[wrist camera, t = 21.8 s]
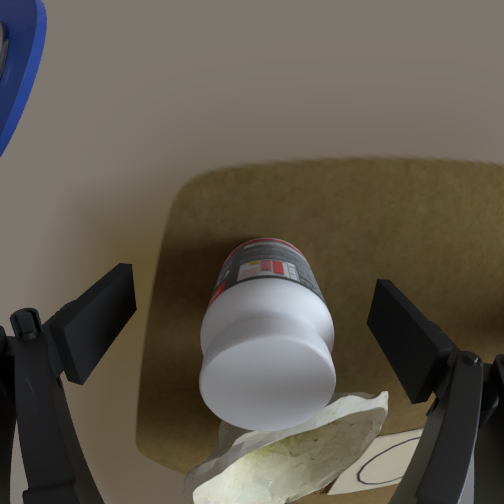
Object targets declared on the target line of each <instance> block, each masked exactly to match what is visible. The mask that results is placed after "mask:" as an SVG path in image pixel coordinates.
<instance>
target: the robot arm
mask: <svg viewBox="0 0 504 504" xmlns="http://www.w3.org/2000/svg"><path fill="white" fill-rule="evenodd" d="M8 49H9V29H8V26H7V24H6V23H5V22H3V21H1V20H0V81H1V78H2V74H3V71H4V67H5V64H6V59H7V55H8ZM136 309H137V308H136V300H135V291H134V282H133V271H132V264H123V263H119V264H118V265H117V266H115V268H113V269H112V270H111V271H109V272H108V273H107V274H106V275H105V276H103V277H102V278H101V279H100V280H99V281H98V282H96V283H95V284H94V285H93V286H91V287H90V288H89V289H88V290H87V291H86V292H85V293H83V294H82V295H81V296H80V297H79V298H78V299H76V300H74V301H71V302H69V303H67V304H65V305H64V306H63V307H62V308H61V309H60V311H57V312H56V313H55V315H53V316H52V317H51V318H50V319H49V320H48V321H46V322H45V323H44V324H43V325H41V321H40V318H39V313H38V311H37V310H36V309H34V308H23V309H20V310H18V311H16V312H14V313H13V314H12V315H11V317H10V322H11V324H12V328H13V331H14V333H15V336H16V337H12V336H6V333H5V331H4V328H3V327H2V326H0V504H10V473H11V458H12V448H13V439H14V432H15V425H16V419H17V424H18V433H19V440H20V447H21V453H22V458H23V464H24V469H25V473H26V478H27V482H28V490H25V491H23V494H22V497H23V503H24V504H105V503H104V501H103V499H102V497H101V495H100V493H99V491H98V489H97V487H96V484H95V482H94V480H93V478H92V475H91V473H90V470H89V468H88V465H87V463H86V460H85V458H84V455H83V452H82V449H81V447H80V444H79V441H78V438H77V435H76V432H75V429H74V426H73V422H72V419H71V415H70V412H69V408H68V405H67V401H66V397H65V393H64V389H63V384H62V381H61V378H60V374H61V373H62V372H63V371H64V372H65V374H66V377H67V379H68V381H70V382H73V383H76V384H80V385H83V384H84V383H85V381H86V380H87V378H88V377H89V375H90V374H91V372H92V371H93V370H94V368H95V367H96V365H97V364H98V362H99V361H100V359H101V358H102V357H103V355H104V354H105V352H106V351H107V350H108V348H109V347H110V345H111V344H112V343H113V341H114V340H115V338H116V337H117V336H118V334H119V333H120V331H121V330H122V329H123V327H124V326H125V324H126V323H127V322H128V321H129V319H130V318H131V317H132V315H133V314H134V313H135V311H136ZM367 325H368V327H369V328H370V330H371V332H372V333H373V335H374V337H375V338H376V340H377V342H378V344H379V345H380V347H381V349H382V350H383V352H384V354H385V356H386V357H387V359H388V361H389V363H390V364H391V366H392V368H393V370H394V371H395V373H396V375H397V377H398V379H399V380H400V382H401V384H402V386H403V388H404V390H405V391H406V393H407V395H408V397H409V399H410V401H411V403H412V404H416V403H422V402H427V400H428V398H429V397H430V395H431V393H432V391H433V392H434V393H435V395H436V398H435V400H434V402H433V403H432V405H431V407H430V409H429V410H428V412H427V414H426V416H428V415H429V416H428V419H427V421H426V424H425V427H424V429H423V432H422V435H421V437H420V440H419V442H418V445H417V447H416V449H415V452H414V454H413V456H412V458H411V461H410V463H409V465H408V467H407V469H406V471H405V473H404V475H403V477H402V479H401V481H400V483H399V485H398V487H397V489H396V491H395V493H394V495H393V496H392V498H391V500H390V502H389V503H388V504H460V501H461V498H462V495H463V491H464V488H465V485H466V481H467V478H468V474H469V470H470V466H471V461H472V457H473V452H474V504H504V354H498V355H497V356H496V358H495V360H494V362H493V364H488V363H483V361H482V359H481V358H480V357H479V356H478V355H476V354H475V353H472V352H469V351H460V350H459V348H458V347H457V346H456V345H455V344H454V343H453V342H452V341H451V339H450V338H448V336H447V335H446V334H445V333H443V331H442V330H441V329H440V327H439V326H438V325H436V324H434V323H433V322H431V321H428V320H427V318H426V317H425V316H424V315H423V314H422V313H421V312H420V311H419V310H418V309H417V308H416V307H415V306H414V305H413V303H412V302H411V301H410V300H409V299H408V298H407V297H406V296H405V295H404V294H403V293H402V292H401V291H400V290H399V289H398V288H397V287H396V286H395V285H394V284H393V283H392V282H391V281H390V280H383V279H377V283H376V287H375V292H374V296H373V300H372V304H371V308H370V312H369V316H368V320H367ZM497 403H498V405H496V404H497Z"/></svg>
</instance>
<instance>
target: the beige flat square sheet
mask: <svg viewBox="0 0 504 504" xmlns="http://www.w3.org/2000/svg"><path fill="white" fill-rule="evenodd" d="M423 429H424V428H421V429H416V430H411V431H407V432H401V433H396V434H390V435H384V436H377V437H376V438H375V439H374V441H373V443H372V444H371V446H370V447H369V448H368V449H367V451H366V453H365V454H364V455H363V457H362V458H361V459H360V460H359V461H357V462H356V463H355V464H354V465H352V466H351V467H349V468H348V469H347V470H345V471H344V472H343V473H342V474H340V475H339V476H338V477H337V478H336V480H335V482H334V483H333V485H332V486H331V488H330V489H329V491H328V492H327V495H333V494H341V493H349V492H355V491H362V490H367V489H373V488H378V487H383V486H387V485H392V484H396V483H400V481H401V479H402V477H403V475H404V473H405V471H406V469H407V467H408V465H409V463H410V461H411V458H412V456H413V454H414V452H415V449H416V447H417V445H418V442H419V440H420V437H421V435H422V432H423Z"/></svg>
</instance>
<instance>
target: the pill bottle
mask: <svg viewBox="0 0 504 504" xmlns="http://www.w3.org/2000/svg"><path fill="white" fill-rule="evenodd" d="M200 341H201V348H202V352H203V355H204V358H203V363H202V368H201V372H200V377H199V388H200V392H201V395H202V398H203V400H204V402H205V404H206V405H207V406H208V408H209V409H210V410H211V411H212V412H213V413H214V414H215V415H216V416H218V417H219V418H220V419H222V420H224V421H226V422H227V423H229V424H232V425H234V426H237V427H240V428H244V429H248V430H254V431H277V430H283V429H287V428H291V427H294V426H297V425H299V424H302V423H304V422H306V421H308V420H309V419H311V418H313V417H314V416H315V415H317V414H318V413H319V412H320V411H321V410H322V409H323V408H324V407H325V406H326V405H327V404H328V402H329V401H330V399H331V397H332V395H333V393H334V390H335V385H336V373H335V369H334V365H333V362H332V358H331V356H330V355H331V352H332V349H333V344H334V326H333V322H332V318H331V315H330V312H329V310H328V307H327V305H326V303H325V300H324V298H323V296H322V294H321V291H320V289H319V287H318V284H317V282H316V280H315V277H314V275H313V273H312V271H311V268H310V266H309V264H308V262H307V260H306V259H305V257H304V256H303V255H302V253H301V252H300V251H299V250H298V249H296V248H295V247H294V246H292V245H291V244H289V243H287V242H285V241H282V240H279V239H275V238H258V239H253V240H250V241H247V242H245V243H243V244H241V245H240V246H238V247H237V248H236V249H235V250H233V251H232V252H231V254H230V255H229V256H228V257H227V259H226V261H225V262H224V264H223V266H222V268H221V271H220V274H219V277H218V280H217V282H216V285H215V288H214V291H213V293H212V296H211V299H210V302H209V304H208V307H207V310H206V313H205V315H204V318H203V322H202V326H201V333H200Z"/></svg>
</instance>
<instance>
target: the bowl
mask: <svg viewBox="0 0 504 504" xmlns="http://www.w3.org/2000/svg"><path fill="white" fill-rule="evenodd" d="M387 401H388V391H381V392H379V393H377V394H369V393H365V392H361V391H359V392H348V393H338V392H334V393H333V395H332V397H331V399H330V401H329V402H328V404H327V405H326V406H325V407H324V408H323V409H322V410H321V411H320V412H319V413H318V414H317V415H315V416H314V417H313V418H311V419H309V420H308V421H306V422H304V423H302V424H299V425H297V426H294V427H291V428H287V429H283V430H277V431H254V430H248V429H244V428H240V427H237V426H234V425H232V424H229V423H227V422H226V421H224V420H222V422H221V425H220V427H219V443H218V447H217V448H216V449H215V450H214V451H213V453H212V454H211V455H210V456H209V457H208V458H207V460H206V461H205V462H203V463H201V464H199V465H197V466H196V467H194V468H192V469H191V470H190V471H189V473H188V474H187V476H186V477H185V479H184V491H183V493H184V495H185V499H186V501H187V502H188V503H189V504H284V503H285V502H292V501H294V500H296V499H299V498H300V497H302V496H304V495H307V494H309V493H312V492H314V491H316V490H319V489H321V488H323V487H325V486H326V485H328V484H329V483H330V482H331V481H333V480H334V479H335V478H336V477H338V476H339V475H340V474H342V473H343V472H344V471H345V470H347V469H348V468H349V467H351V466H352V465H354V464H355V463H356V462H357V461H359V460H360V459H361V458H362V457H363V455H364V454H365V453H366V451H367V449H368V448H369V447H370V446H371V444H372V443H373V441H374V439H375V438H376V436H377V435H378V434H379V432H380V430H381V427H382V424H383V422H384V420H385V418H386V416H387V411H388V407H387Z"/></svg>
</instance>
